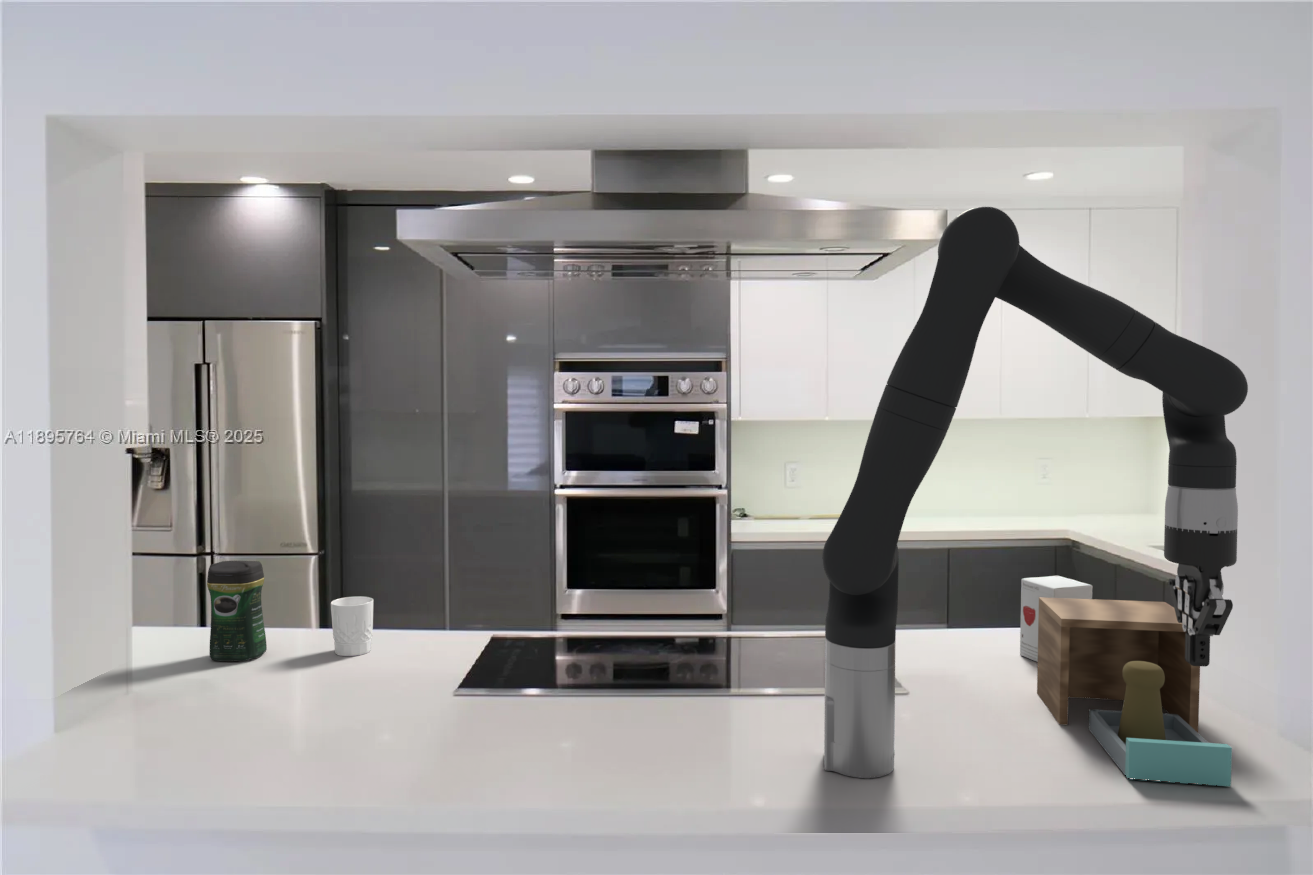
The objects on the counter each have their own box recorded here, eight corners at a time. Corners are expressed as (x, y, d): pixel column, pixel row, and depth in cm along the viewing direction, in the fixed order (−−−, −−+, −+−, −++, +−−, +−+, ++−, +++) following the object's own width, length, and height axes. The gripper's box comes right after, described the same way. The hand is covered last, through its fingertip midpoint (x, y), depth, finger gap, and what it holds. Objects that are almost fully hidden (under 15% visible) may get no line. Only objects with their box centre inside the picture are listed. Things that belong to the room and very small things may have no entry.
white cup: (361, 658, 167) (359, 606, 167) (323, 656, 169) (322, 604, 168) (382, 646, 175) (381, 597, 175) (346, 644, 177) (344, 595, 176)
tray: (1128, 779, 114) (1129, 741, 113) (1088, 728, 131) (1089, 695, 130) (1230, 786, 111) (1231, 747, 111) (1176, 734, 128) (1177, 700, 128)
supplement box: (1017, 655, 168) (1019, 577, 167) (1056, 650, 171) (1057, 574, 170) (1052, 669, 160) (1054, 587, 159) (1092, 664, 162) (1094, 584, 161)
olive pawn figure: (1175, 748, 121) (1177, 669, 120) (1131, 748, 121) (1133, 669, 120) (1151, 731, 127) (1153, 656, 126) (1109, 731, 127) (1111, 656, 126)
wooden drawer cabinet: (1059, 724, 133) (1061, 618, 132) (1036, 693, 147) (1038, 597, 146) (1198, 733, 130) (1201, 624, 129) (1162, 700, 143) (1164, 601, 143)
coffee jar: (273, 651, 172) (270, 557, 171) (251, 663, 164) (248, 565, 163) (226, 650, 173) (223, 556, 172) (202, 662, 165) (199, 564, 164)
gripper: (1146, 515, 114) (1144, 647, 115) (1188, 531, 101) (1185, 680, 102) (1210, 516, 112) (1207, 650, 113) (1261, 532, 99) (1257, 683, 100)
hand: (1197, 664), depth 107 cm, fingers closed
